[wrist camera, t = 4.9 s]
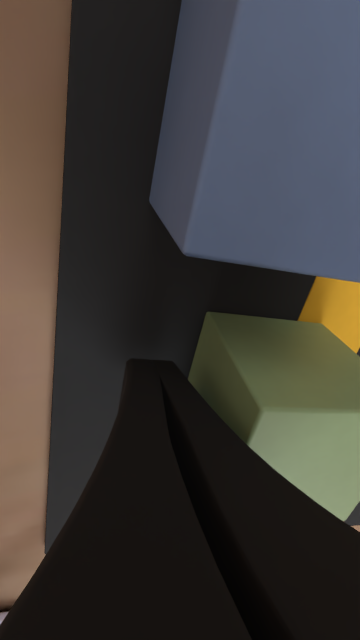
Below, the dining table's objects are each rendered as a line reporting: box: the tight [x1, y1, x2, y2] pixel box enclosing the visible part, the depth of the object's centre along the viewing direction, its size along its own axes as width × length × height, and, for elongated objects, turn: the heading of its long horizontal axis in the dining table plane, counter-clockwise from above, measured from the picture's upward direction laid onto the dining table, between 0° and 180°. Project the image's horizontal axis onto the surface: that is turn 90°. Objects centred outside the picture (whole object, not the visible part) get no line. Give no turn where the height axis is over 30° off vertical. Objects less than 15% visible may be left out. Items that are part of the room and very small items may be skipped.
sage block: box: [188, 312, 360, 521], centre depth 10 cm, size 4×4×4 cm
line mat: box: [45, 0, 360, 554], centre depth 12 cm, size 21×18×1 cm
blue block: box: [149, 0, 360, 283], centre depth 6 cm, size 4×4×4 cm
